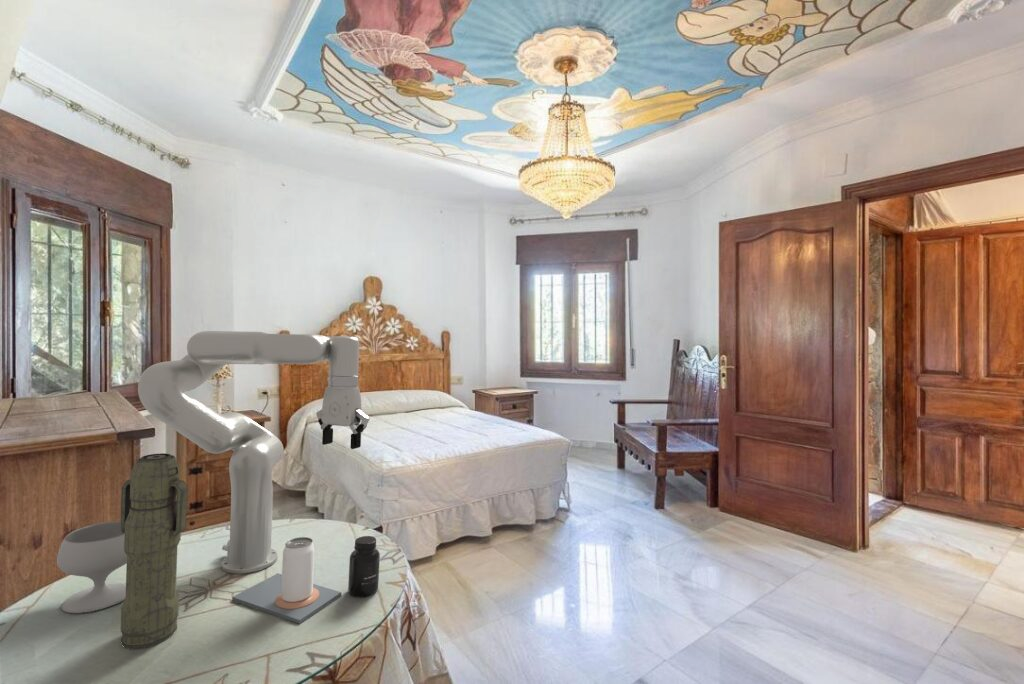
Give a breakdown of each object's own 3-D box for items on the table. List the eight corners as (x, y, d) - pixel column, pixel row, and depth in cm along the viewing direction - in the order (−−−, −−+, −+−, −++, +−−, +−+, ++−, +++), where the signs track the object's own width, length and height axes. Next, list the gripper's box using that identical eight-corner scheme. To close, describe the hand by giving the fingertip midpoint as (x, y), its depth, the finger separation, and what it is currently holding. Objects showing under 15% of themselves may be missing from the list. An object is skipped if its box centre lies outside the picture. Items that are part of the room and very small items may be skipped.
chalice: (114, 578, 112) (116, 515, 112) (154, 590, 108) (156, 525, 108) (39, 608, 99) (41, 537, 99) (81, 624, 95) (83, 549, 95)
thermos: (169, 648, 88) (175, 462, 88) (100, 651, 87) (106, 461, 87) (195, 620, 97) (201, 451, 97) (132, 622, 96) (139, 450, 96)
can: (289, 587, 109) (290, 536, 109) (317, 588, 109) (319, 536, 109) (275, 603, 103) (277, 548, 103) (305, 603, 103) (307, 548, 103)
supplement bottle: (369, 600, 107) (371, 547, 107) (342, 596, 108) (344, 544, 108) (383, 585, 113) (385, 535, 113) (357, 581, 115) (359, 532, 115)
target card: (232, 600, 105) (232, 596, 105) (277, 576, 116) (277, 572, 116) (299, 623, 97) (300, 619, 97) (341, 595, 108) (341, 591, 108)
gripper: (308, 381, 126) (306, 444, 126) (359, 385, 119) (357, 452, 119) (329, 379, 133) (327, 439, 133) (378, 383, 126) (376, 447, 126)
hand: (341, 445), depth 126 cm, fingers open, 9 cm apart
